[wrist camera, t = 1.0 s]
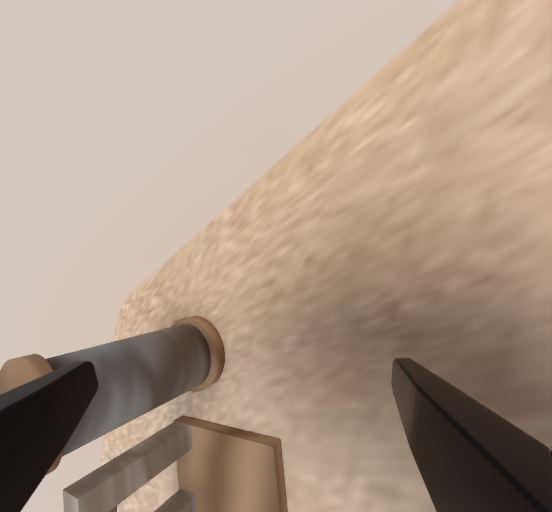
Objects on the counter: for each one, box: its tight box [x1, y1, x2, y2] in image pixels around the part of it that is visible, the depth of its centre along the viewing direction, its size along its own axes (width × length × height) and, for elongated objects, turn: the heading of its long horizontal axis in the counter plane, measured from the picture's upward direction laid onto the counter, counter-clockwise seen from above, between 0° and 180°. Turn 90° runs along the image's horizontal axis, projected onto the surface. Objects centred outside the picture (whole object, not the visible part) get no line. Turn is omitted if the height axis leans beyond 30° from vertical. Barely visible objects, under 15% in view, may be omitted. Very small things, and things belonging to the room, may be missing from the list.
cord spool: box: [0, 317, 225, 475], centre depth 20 cm, size 6×6×13 cm
